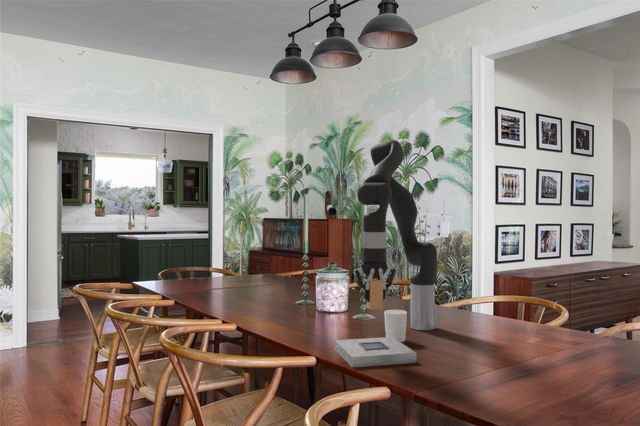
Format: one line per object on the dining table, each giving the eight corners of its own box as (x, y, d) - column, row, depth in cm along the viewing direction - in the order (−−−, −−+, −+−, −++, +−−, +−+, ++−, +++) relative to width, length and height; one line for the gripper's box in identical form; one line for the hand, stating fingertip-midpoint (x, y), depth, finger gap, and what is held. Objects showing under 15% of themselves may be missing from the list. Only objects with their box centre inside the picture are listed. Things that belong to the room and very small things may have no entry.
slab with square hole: (392, 345, 171) (392, 335, 171) (416, 362, 152) (416, 351, 152) (334, 349, 167) (334, 339, 167) (352, 367, 147) (352, 356, 147)
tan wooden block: (378, 306, 162) (378, 278, 162) (382, 309, 158) (382, 280, 158) (366, 307, 161) (366, 278, 161) (370, 309, 157) (370, 280, 157)
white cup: (389, 343, 174) (389, 314, 174) (380, 338, 182) (380, 310, 182) (410, 342, 176) (410, 313, 176) (401, 336, 184) (401, 309, 184)
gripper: (391, 245, 165) (391, 298, 165) (349, 246, 161) (349, 300, 161) (400, 246, 157) (400, 302, 157) (356, 247, 154) (356, 304, 154)
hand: (374, 300), depth 159 cm, fingers closed on tan wooden block, 4 cm apart
